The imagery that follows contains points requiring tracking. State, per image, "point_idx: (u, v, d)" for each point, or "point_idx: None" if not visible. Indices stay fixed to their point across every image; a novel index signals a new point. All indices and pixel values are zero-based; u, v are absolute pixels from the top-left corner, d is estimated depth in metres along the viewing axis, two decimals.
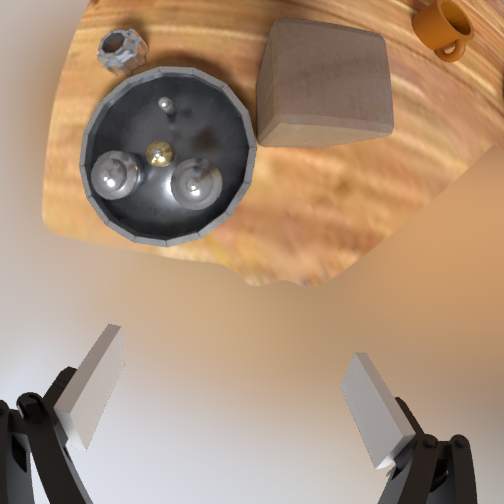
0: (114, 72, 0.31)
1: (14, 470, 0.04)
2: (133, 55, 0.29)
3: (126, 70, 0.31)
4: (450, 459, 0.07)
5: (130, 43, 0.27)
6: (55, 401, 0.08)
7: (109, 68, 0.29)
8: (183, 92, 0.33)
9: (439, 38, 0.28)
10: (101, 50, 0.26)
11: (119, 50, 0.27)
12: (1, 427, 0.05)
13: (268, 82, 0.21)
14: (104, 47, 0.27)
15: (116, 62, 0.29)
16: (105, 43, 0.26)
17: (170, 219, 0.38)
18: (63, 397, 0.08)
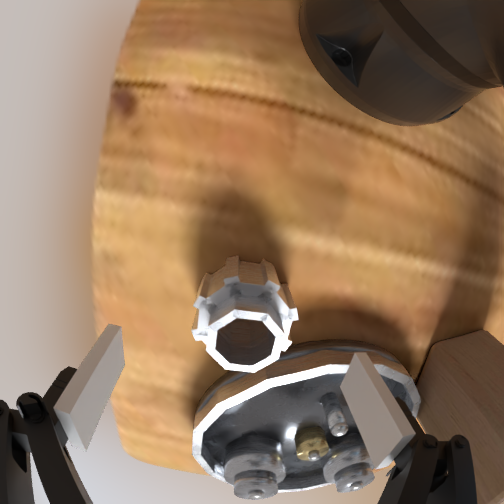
0: None
1: (14, 470, 0.04)
2: (282, 348, 0.19)
3: None
4: (450, 459, 0.07)
5: None
6: (55, 401, 0.08)
7: None
8: None
9: None
10: (216, 354, 0.16)
11: (264, 363, 0.17)
12: (1, 427, 0.05)
13: (482, 476, 0.11)
14: None
15: None
16: None
17: (304, 470, 0.28)
18: (63, 397, 0.08)
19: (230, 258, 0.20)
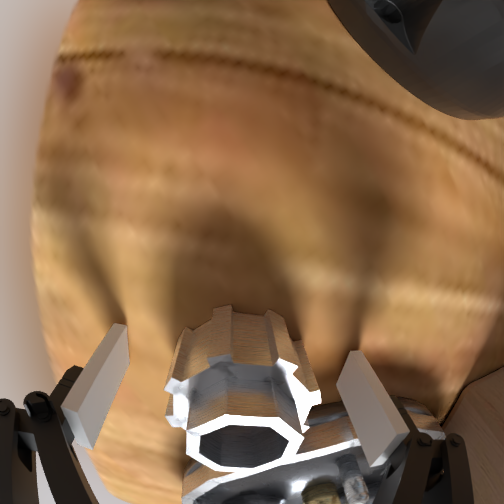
0: None
1: (19, 470, 0.04)
2: None
3: None
4: (445, 458, 0.07)
5: None
6: (62, 400, 0.08)
7: None
8: None
9: None
10: (201, 457, 0.09)
11: (271, 465, 0.09)
12: (7, 426, 0.05)
13: None
14: None
15: None
16: None
17: None
18: (70, 396, 0.08)
19: (219, 310, 0.13)
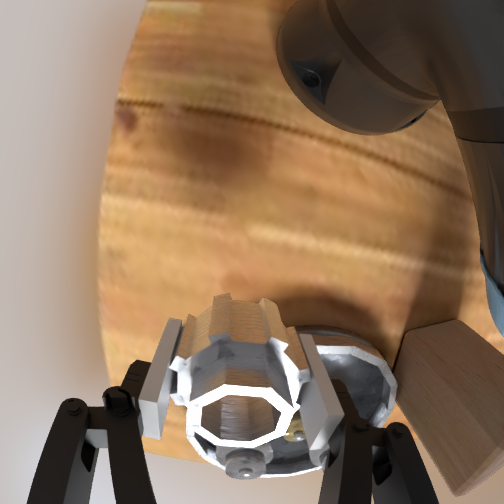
0: None
1: (79, 470, 0.06)
2: None
3: None
4: (391, 451, 0.08)
5: None
6: (132, 393, 0.10)
7: None
8: (327, 361, 0.27)
9: None
10: (203, 430, 0.11)
11: (266, 438, 0.11)
12: (75, 427, 0.07)
13: (459, 453, 0.15)
14: None
15: None
16: None
17: (292, 455, 0.32)
18: (146, 388, 0.10)
19: (219, 297, 0.15)
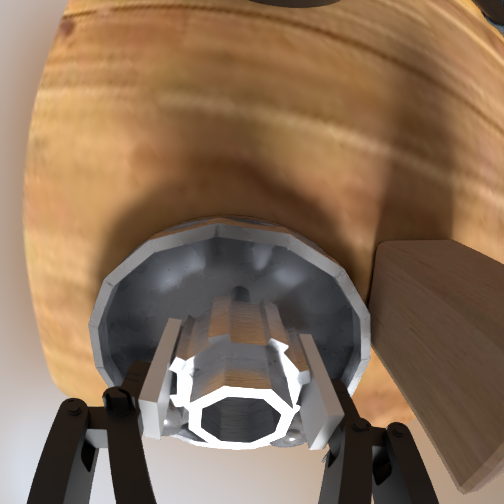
0: None
1: (79, 470, 0.06)
2: None
3: None
4: (391, 451, 0.08)
5: None
6: (132, 393, 0.10)
7: None
8: (261, 266, 0.22)
9: None
10: (202, 431, 0.11)
11: (266, 440, 0.11)
12: (75, 427, 0.07)
13: (468, 415, 0.09)
14: None
15: None
16: None
17: None
18: (146, 388, 0.10)
19: (219, 299, 0.15)
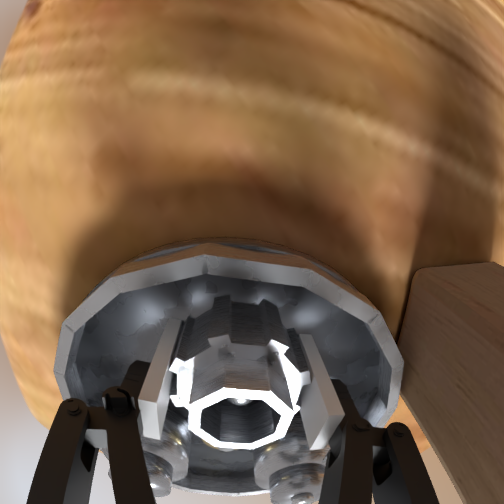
0: None
1: (78, 470, 0.06)
2: None
3: None
4: (391, 451, 0.08)
5: None
6: (132, 393, 0.10)
7: None
8: None
9: None
10: (202, 432, 0.11)
11: (266, 441, 0.11)
12: (75, 427, 0.07)
13: None
14: (201, 409, 0.11)
15: None
16: None
17: (240, 467, 0.21)
18: (145, 388, 0.10)
19: (219, 299, 0.15)
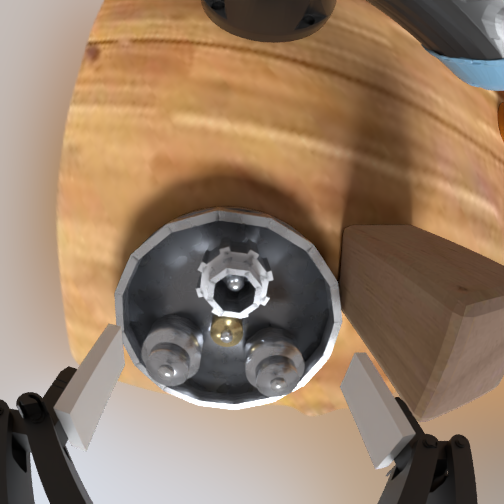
0: None
1: (14, 470, 0.04)
2: (263, 303, 0.26)
3: None
4: (450, 459, 0.07)
5: None
6: (55, 401, 0.08)
7: None
8: None
9: None
10: (214, 303, 0.24)
11: (248, 310, 0.24)
12: (1, 427, 0.05)
13: (409, 347, 0.16)
14: None
15: None
16: None
17: (236, 381, 0.33)
18: (63, 397, 0.08)
19: (224, 238, 0.28)
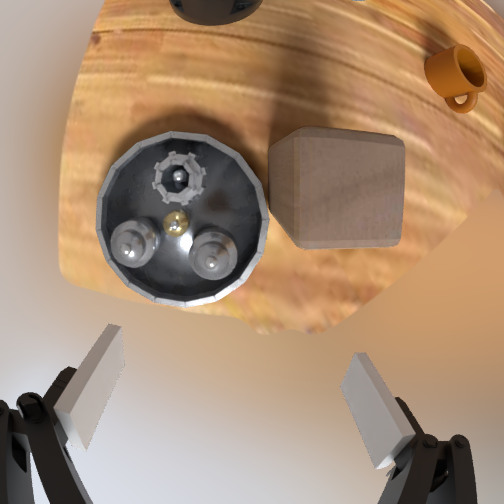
0: None
1: (14, 470, 0.04)
2: (199, 192, 0.34)
3: None
4: (450, 459, 0.07)
5: (194, 178, 0.33)
6: (55, 401, 0.08)
7: (170, 201, 0.35)
8: None
9: (451, 88, 0.32)
10: (161, 186, 0.32)
11: (185, 191, 0.32)
12: (1, 427, 0.05)
13: (287, 189, 0.24)
14: (162, 179, 0.32)
15: (179, 198, 0.34)
16: (163, 173, 0.32)
17: (187, 281, 0.42)
18: (63, 397, 0.08)
19: None
